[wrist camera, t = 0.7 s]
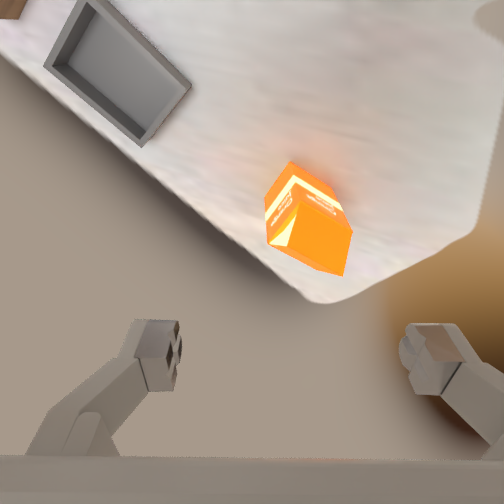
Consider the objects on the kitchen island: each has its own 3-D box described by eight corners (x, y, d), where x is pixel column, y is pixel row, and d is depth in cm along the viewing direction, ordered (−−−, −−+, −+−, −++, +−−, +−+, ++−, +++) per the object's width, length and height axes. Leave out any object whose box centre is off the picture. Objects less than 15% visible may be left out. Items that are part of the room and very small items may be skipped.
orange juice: (289, 160, 52) (306, 221, 35) (332, 187, 54) (366, 255, 38) (263, 198, 55) (267, 268, 39) (304, 221, 58) (324, 297, 42)
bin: (60, 63, 44) (42, 66, 40) (99, -8, 40) (83, -12, 36) (149, 139, 50) (141, 148, 46) (192, 84, 45) (186, 89, 42)
